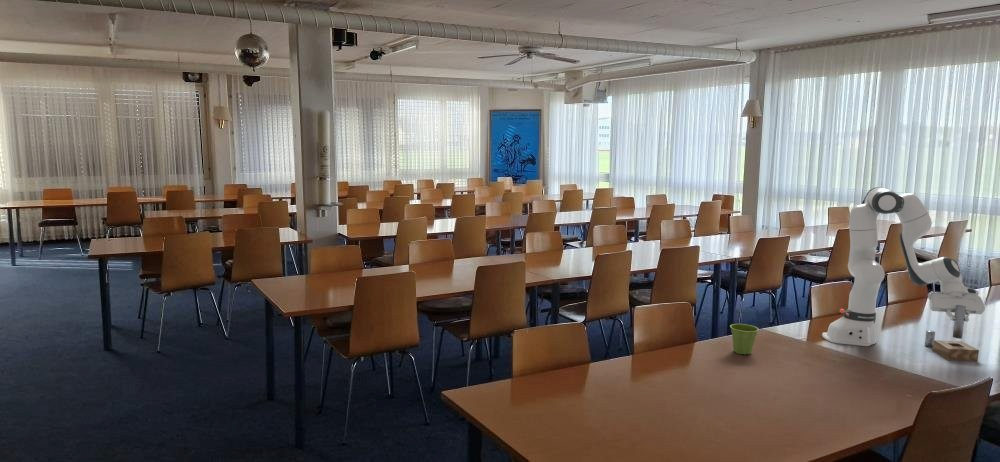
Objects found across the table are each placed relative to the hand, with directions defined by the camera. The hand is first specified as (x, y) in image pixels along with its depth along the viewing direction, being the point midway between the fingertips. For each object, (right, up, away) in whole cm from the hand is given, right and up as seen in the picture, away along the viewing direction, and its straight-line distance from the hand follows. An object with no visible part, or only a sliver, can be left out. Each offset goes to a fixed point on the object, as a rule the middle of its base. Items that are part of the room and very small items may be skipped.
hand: (959, 320), depth 283 cm
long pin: (0, -8, +2) cm, 8 cm away
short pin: (-3, -14, +16) cm, 22 cm away
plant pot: (-93, -15, +3) cm, 94 cm away
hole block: (0, -16, +3) cm, 16 cm away
